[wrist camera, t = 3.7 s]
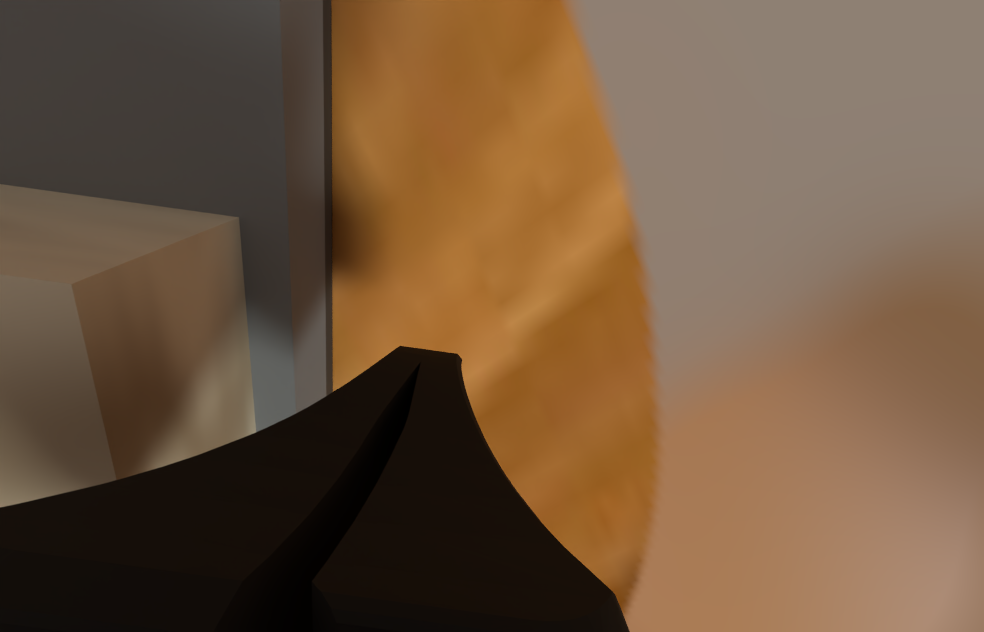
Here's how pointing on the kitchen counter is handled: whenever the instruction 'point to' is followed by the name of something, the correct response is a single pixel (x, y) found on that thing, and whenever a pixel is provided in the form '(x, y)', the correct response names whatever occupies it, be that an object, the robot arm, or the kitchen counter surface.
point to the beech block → (115, 340)
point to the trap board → (194, 144)
